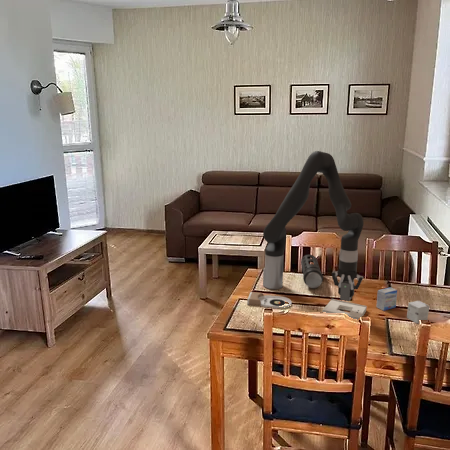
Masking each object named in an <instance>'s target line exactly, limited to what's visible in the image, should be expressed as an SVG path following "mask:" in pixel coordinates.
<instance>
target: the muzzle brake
mask: <svg viewBox="0 0 450 450" xmlns="http://www.w3.org/2000/svg"><path fill="white" fill-rule="evenodd" d="M300 261H301V262H300V263H301V264H300V265H301V270H302V276H303V282H304V285H306V286H307V287H309V288H311V289H316V288H319V287H320V286H321V285H322V284H323V281H324V276H323V274H322V272H321V269H320V265H319V262H318V259H317V257H316V256H314V255H313V254H305V255H304V256H303V257H302V258H301V259H300Z"/></svg>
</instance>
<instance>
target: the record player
mask: <svg viewBox="0 0 450 450" xmlns="http://www.w3.org/2000/svg"><path fill="white" fill-rule="evenodd" d="M247 297H248V298H247V300H246V301H247V302H246V303H247V305H250V306H258V305H260V306H261V307H262V306H263V307H262V308H267V307H273V308H272V309H277V308H284V307H288V306H290V305H291V306H292V300H291V299H290V298H288V297H286V296H279V295H270V294H269V295H267V294H266V295H264V293H263V292H254V291H250V293H249V295H248V296H247ZM285 301H286V302H288V303H289V304H288V305H287V306H283V307H279V306H282V305H284V304H285ZM260 306H259V307H260ZM291 306H290V307H291ZM288 308H289V307H288ZM284 309H285V308H284Z"/></svg>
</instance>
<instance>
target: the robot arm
mask: <svg viewBox="0 0 450 450" xmlns="http://www.w3.org/2000/svg"><path fill="white" fill-rule="evenodd" d="M317 173H321V174H322V175H323V177H324V178H325V179H326V181H327V184H328V195H329V199H330V201H331V204H332V205H333V207H334V210H335V217H336V221H337V225H338V227H339V228H340V230H342V231H344V232H347V233H346V234H344V235H342V236H341V237H340V238H341V240H340V250H339V256H338V257H339V259H338V261H339V262H338V270H337V271H335V270H333V271H332V272H331V278H332V280H333V284H334V286H337V290H338V291H337V293H338V295H339V296H340V290H341V282H343V281H347V282H349V284H350V285H351V286H350V287H351V290H350V297H351V299H352V298H353V297H354V295H355V290H358V289H359V288H360V286H361V284H362V281H363V280H364V276H363V275H360V274H358V271H357V268H358V260H359V259H358V258H359V257H358V256H359V254H358V248H359V247H358V246H359V239H360V237H361V234H362V231H363V227H364V218H363V216H362V214H360V213H358V212H353V213H352V212H351V213H348V212H347V211H348V210H350V209H351V208H352V203H351V200H350V198H349V196H348V195H347V193H346V190H345V188H344V186H343V184H342V180H341V178H340V175H339V171H338V168H337V166H336V161H335V159H334V157H333V156H332V154H330V153H328V152H324V151H320V150H316V151H313V152H311V153H310V154H309V156H308V157H307V159H306V161H305V163H304V165H303V167H302V169H301V171H300V173H299V175H298V176H297V178H296V180H295V182H294V183H293V185H292V186H291V188H290V189H289V191H288V192H287V194H286V196H284V199H283V201H282V202H281V204H280V205H279V207H278V209H277V211H276V213H275V215H274V216H273V217H272V218H271V220H270V221H269V223H267V225H266V226H265V227H264V229H263V231H262V232H263V233H262V235H263V239H264V241H265V242H267V246H266V247H265V251H264V254H265V255H264V268H263V269H262V287H265V288H266V289H269V290H280V289H282V288H283V286H284V285H283V284H284V283H283V282H284V281H283V280H284V279H283V278H284V258H285V257H284V256H285V255H284V253H285V249H286V243H287V242H286V241H287V228H286V227H287V225H288V223H289V222H290V221H291V220H292V219H293V218H294V217H295V216H296V215H298V213H299V212H300V210H301V209H302V208H303V207H304V205H305V203H306V202H307V201H308V198H309V195H310V187H311V182H312V181H313V179H314V177H315V176H316V175H317ZM338 277H339V278H340V279H339V280H338ZM355 279H356V280H357V282H356V284H355Z"/></svg>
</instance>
